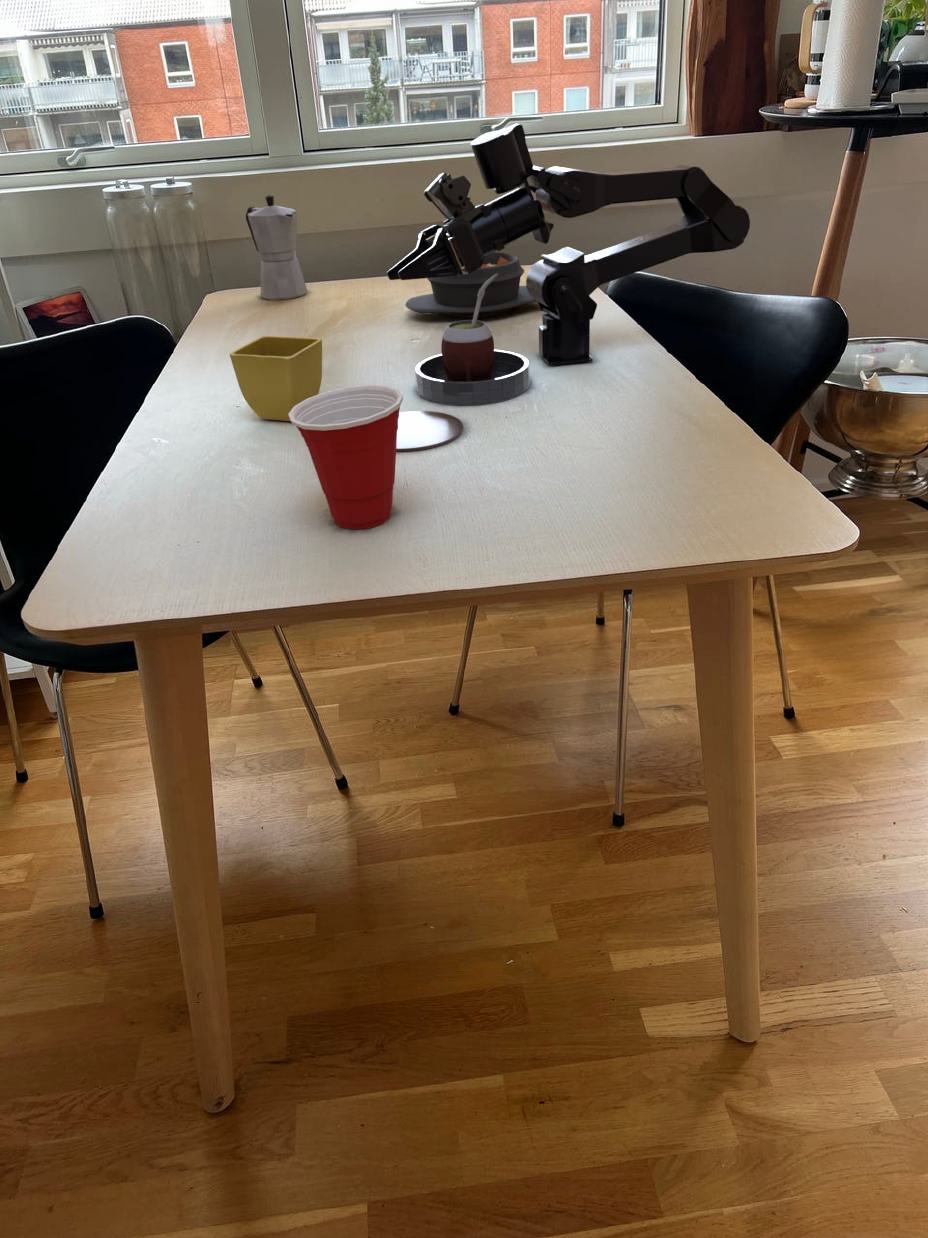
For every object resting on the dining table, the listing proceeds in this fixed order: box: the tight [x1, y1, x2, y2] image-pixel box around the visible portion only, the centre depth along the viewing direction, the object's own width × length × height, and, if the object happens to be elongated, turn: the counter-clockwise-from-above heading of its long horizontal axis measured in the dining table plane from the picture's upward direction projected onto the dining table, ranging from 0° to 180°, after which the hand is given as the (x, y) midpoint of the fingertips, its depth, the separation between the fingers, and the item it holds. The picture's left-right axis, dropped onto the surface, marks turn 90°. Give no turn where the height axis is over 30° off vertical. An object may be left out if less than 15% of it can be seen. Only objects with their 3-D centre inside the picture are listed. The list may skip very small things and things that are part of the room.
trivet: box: [396, 410, 464, 453], centre depth 113 cm, size 13×13×1 cm
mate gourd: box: [440, 273, 498, 382], centre depth 123 cm, size 8×8×15 cm
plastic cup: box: [288, 384, 404, 530], centre depth 90 cm, size 11×11×12 cm
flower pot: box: [229, 335, 323, 422], centre depth 119 cm, size 9×9×9 cm
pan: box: [414, 349, 530, 407], centre depth 126 cm, size 15×15×3 cm
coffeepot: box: [245, 194, 308, 301], centre depth 180 cm, size 15×9×18 cm, turn 44°
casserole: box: [404, 252, 537, 318], centre depth 162 cm, size 25×19×8 cm
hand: (393, 276), depth 123 cm, fingers open, 9 cm apart
